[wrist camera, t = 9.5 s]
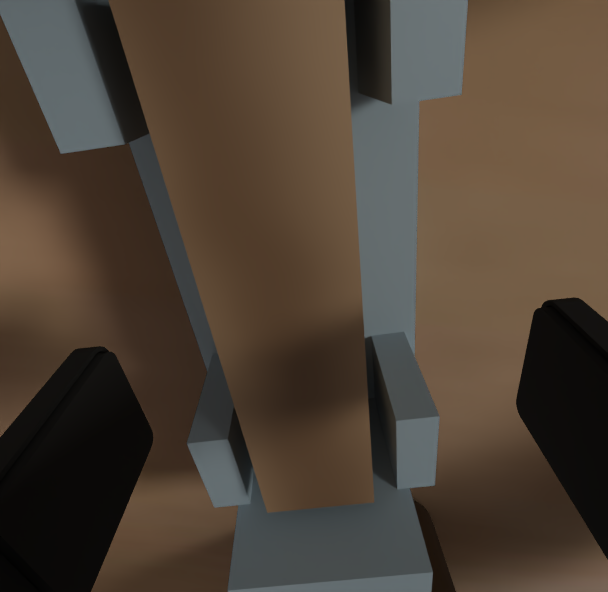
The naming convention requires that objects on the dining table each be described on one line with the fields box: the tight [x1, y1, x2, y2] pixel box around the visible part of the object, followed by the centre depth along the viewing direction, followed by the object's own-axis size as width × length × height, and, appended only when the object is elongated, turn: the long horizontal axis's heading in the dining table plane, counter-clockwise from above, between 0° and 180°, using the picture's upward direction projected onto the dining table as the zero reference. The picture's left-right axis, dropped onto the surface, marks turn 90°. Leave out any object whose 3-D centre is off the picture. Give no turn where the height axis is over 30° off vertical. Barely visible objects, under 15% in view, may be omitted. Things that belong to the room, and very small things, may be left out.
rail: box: [108, 0, 374, 513], centre depth 13 cm, size 4×16×6 cm, turn 7°
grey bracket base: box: [0, 0, 468, 592], centre depth 12 cm, size 10×26×9 cm, turn 8°
